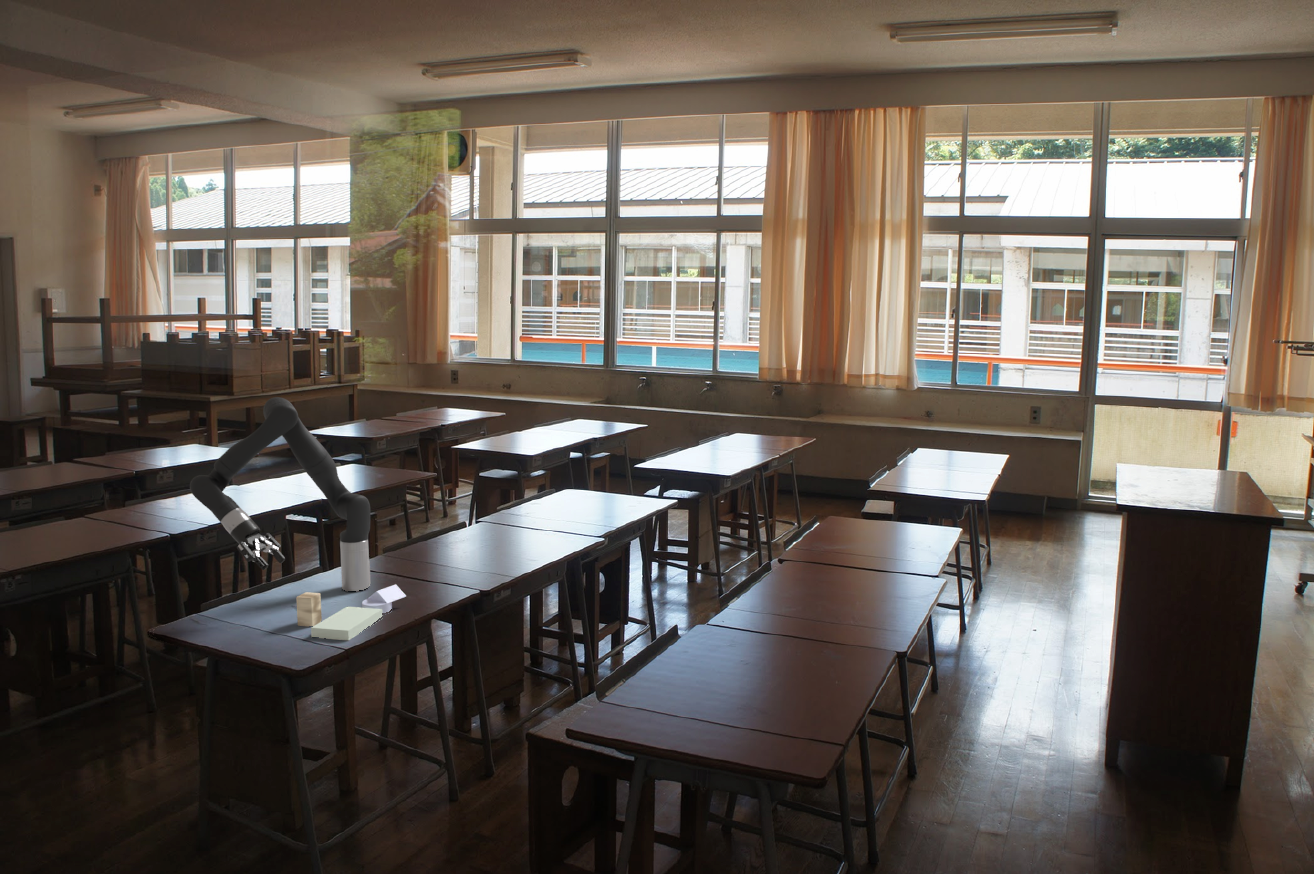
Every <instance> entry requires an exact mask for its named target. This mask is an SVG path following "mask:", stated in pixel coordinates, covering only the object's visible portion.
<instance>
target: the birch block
mask: <svg viewBox="0 0 1314 874" xmlns="http://www.w3.org/2000/svg"><path fill="white" fill-rule="evenodd" d="M321 599H322V598H321V593H319V592H310V591H309V592H307V591H305V592H304V593H302V594H299V595H298V596H296V618H297V626H298V627H299V626H301V627H309V626H315V625H316V624H318V623H320V622H321V621H323V618H322V617H323V616H322V601H321Z"/></svg>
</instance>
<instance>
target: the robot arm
mask: <svg viewBox="0 0 1314 874" xmlns="http://www.w3.org/2000/svg"><path fill="white" fill-rule="evenodd" d="M262 410H263V411H262V413H263V416H264V420H263V422H262V423H261V424H260V425H259V427H258V428H257V429H255V431H254V432H252V433H251V434H250V435H248V436H247V437H245V438H243V439H241V440H239V441H238V442H236V443H234V444H233V445H232V446H230V447H229V448H228V449H227V450H226V451H225V452H224V453H223V454H221V456H220V457H218V458H217V460H216V461H215V462H214V464H213V467H214V468H213V469H212V470H211V472H210V473H209V474H208V475H204V474H199V475H196V476H194V477H193V478H192V479H191V480H190V483H189V490H190V493H191V494H192V496H194V498H195V499H196V500H197V501H199V502H200V503H201V505H203V506H204V507H206V508H207V510H209V511H211V513H212V514H213V516H214V517H215V518H216V519H217V520H218V521H219V522H220V523H221V525H222V526H223V528H224V529H225V530H226V531H227V532H228V534H229V535H230V536H231V537H232V538H233V540H234V541H236V543H237V544H238V546H236V549H237V550H238V552H239V553H240V554H241V556H242V557H243V558H244V559H245V560H246V561H247V562H249V563H250V562H251V561H252V562H254V563H255V564H256V565H257V566H258V567H259V568H260V569H261V570H262V571H264V570H266V569H267V568H268V567H269V564H268V563H267V562H266V560H265V559H264V558H263V557H262V556H260V553H261V552H264V553H269V554H271V555H272V556H273V559H275V560H276V561H277V562H278V563H279V564H282V563H283V562H284V561H286V557H285V556H284V555H283V554H282V552H281V551H280V550H279V549H280V548H281V544H280V543H279V542H278V541H277V540H276V538H274V536H272V535H271V534H270V533H269V532H267V533H266V534H265V535H263V534H261V532H260V531H261V529H260V527H259V526H258V524H257V523H256V522H255V521H254V520H253V519H252V518H251V517H250V515H249V514H248V513H246V512H245V511H244V510H243V509H242V508H241V507H240V506H239V504H238V503H237V502H236V501H235V500H234V499H233V498H232V497H231V496H229V495H227V494H225V493H224V490H225V489H226V487H227V486H228V485H229V483H230V482H231V480H232V479H234V476H236V475H237V474H238V473H239V472H241V470H242V469H243V468H244V467H245V466H246V465H247V464H249V463H250V461H252V460H253V459H255V457H256V456H257V455H259V454H260V453H261V452H262V451H263V450H265V448H267V447H268V446H269V445H271V444H272V443H273V442H275V441H276V440H277V439H279V438H281V437H283V439H284V440H285V442H286V443H287V445H288V446H289V448H290V450H291V453H292V454H293V455H294V457H295V459H296V461H298V464H299V465H300V466H301V467H302V469H303V470H304V471H305V473H306V474H307V475H308V476H309V477H310V478H311V480H312V481H313V482H314V484H315V485H316V486H317V488H318V489H319V490H320V491H321V492H322V494H323V495H324V497H325V498H326V500H327V502H328V504H329V505H330V507H331V508H332V510H333V511H334V513H335V514H336V516H338V517H339V519H342V520H346V528H345V529H344V530H343V531H341V532H340V534H339V547H340V549H339V550H340V568H341V569H340V570H341V571H340V573H341V590H342V589H343V590H342V591H344V590H345V592H348V591H356V592H360V591H359V590H363V591H365V590H364V589H366V588H368V587H369V586H370V587H371V585H370V584H371V583H372V582H371V562H370V561H371V560H370V557H369V556H370V554H369V553H370V552H369V549H370V548H369V533H370V530H371V504H370V501H369V499H368V498H367V497H366V496H364V495H363V494H362V495H361V494H357V493H353V492H351V491H350V490H349V489H348V488H347V487H346V486H345V485H344V484H343V483H342V481H341V479H340V477H339V475H338V470H337V469H338V468H337V465H336V463H335V461H334V459H333V458H332V456H331V455H330V453H329V452H328V451H327V449H326V448H325V447H324V446H323V445H322V444H321V442H320V441H319V440H318V439H317V438H316V437H315V435H313V434H312V432H310V431H309V430H308V428H307V427H306V426H305V425H304V424H303V422H302V421H301V419H300V417H299V414H298V411H297V409H296V408H295V406H294V405H293V404H292V403H291V401H289V400H288V399H286V398H284V397H278V396H275V397H274V396H273V397H271V398H269V399H268V400H267V401H266V402H265V403H264V405H263V409H262ZM368 589H369V588H368ZM366 590H367V589H366Z"/></svg>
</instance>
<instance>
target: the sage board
mask: <svg viewBox="0 0 1314 874" xmlns="http://www.w3.org/2000/svg"><path fill="white" fill-rule="evenodd" d="M382 616H384V615H382V609H374V608H362V607H360V606H359V607H358V606H346V607H344V608H342V609H340V610H339V611H337V612H336V613H334V614H331V615H330V616H329V617H326V618H325V619H322V622H320V623H318V624H316V625H315V626H313V627H310V631H311V632H310V633H311V638H312V637H319V638H318V639H324V638H326V640H336V641H337V640H339V641H350V640H352V639H353V638H355V637H357V636H358V635H360V634H361V633H363V632H364V631H365V630H364V629H366V628H367V627H368V626H370V627H371V625H372V624H373V623H374V622H376V621H377V620H378V619H379V618H381V617H382ZM376 623H377V622H376ZM373 625H374V624H373ZM373 625H372V626H373ZM367 629H368V628H367ZM367 629H366V630H367ZM363 630H364V631H363ZM362 631H363V632H362ZM360 632H361V633H360ZM359 633H360V634H359Z"/></svg>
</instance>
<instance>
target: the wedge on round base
mask: <svg viewBox="0 0 1314 874" xmlns="http://www.w3.org/2000/svg"><path fill="white" fill-rule="evenodd" d="M405 597H407V595H406V594H405V593H404V592H403V591H402V590H401V588H400V587H399V586H398V585H397V584H396V583H395V584H393V585H390V586H387V587H384V588H382V589H379V590H376V591H375V592H373V593H372V594H371V595H370V596H369V597H368V598H366V599H364V600H362V602H361V606H362V607H361V608H374V609H382V613H386V612H389V611H390V610H391V609H392V610H393V603H392V602H396V601H398V600H400V599H403V598H405Z"/></svg>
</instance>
